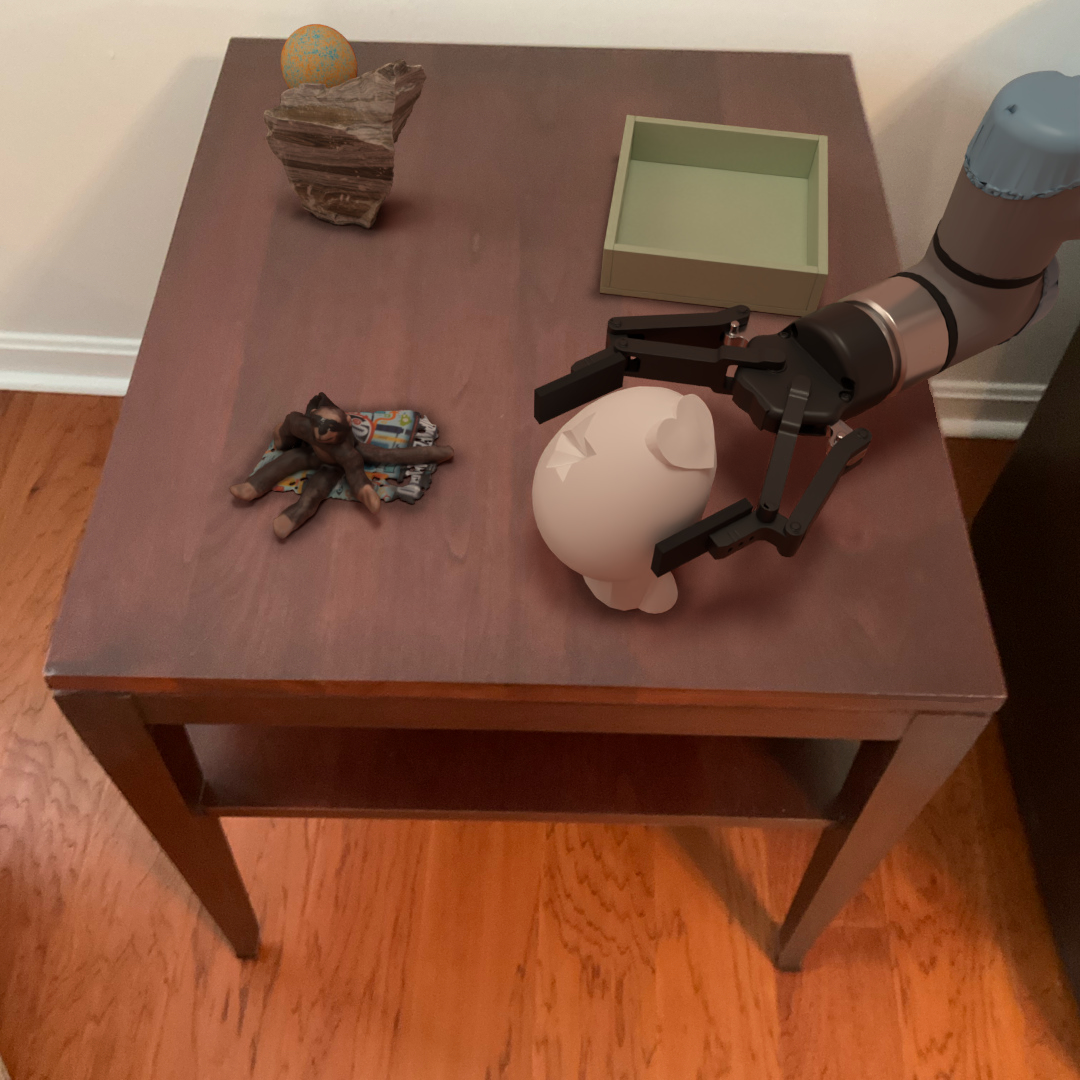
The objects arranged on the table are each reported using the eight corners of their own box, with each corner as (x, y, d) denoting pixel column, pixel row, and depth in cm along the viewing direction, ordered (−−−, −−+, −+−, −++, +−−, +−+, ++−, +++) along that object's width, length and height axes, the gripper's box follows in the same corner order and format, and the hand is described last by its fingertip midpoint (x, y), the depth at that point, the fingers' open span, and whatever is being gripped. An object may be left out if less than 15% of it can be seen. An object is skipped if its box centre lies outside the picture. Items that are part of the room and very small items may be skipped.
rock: (276, 214, 89) (237, 52, 77) (305, 174, 92) (272, 11, 80) (412, 247, 87) (394, 86, 75) (437, 204, 90) (424, 43, 78)
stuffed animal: (202, 459, 73) (305, 329, 71) (293, 488, 82) (387, 373, 79) (286, 570, 68) (400, 433, 66) (373, 588, 77) (476, 468, 74)
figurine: (529, 617, 68) (530, 483, 55) (532, 479, 74) (534, 331, 62) (697, 621, 68) (736, 488, 55) (687, 483, 74) (720, 335, 62)
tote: (815, 180, 93) (828, 135, 89) (814, 318, 83) (828, 274, 79) (622, 160, 94) (626, 114, 90) (599, 293, 85) (603, 248, 81)
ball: (355, 124, 96) (344, 54, 91) (281, 120, 97) (266, 50, 91) (367, 80, 100) (357, 10, 94) (296, 76, 101) (282, 6, 95)
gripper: (968, 515, 67) (704, 665, 60) (737, 282, 78) (494, 388, 72) (1015, 442, 60) (725, 602, 54) (755, 201, 72) (492, 310, 66)
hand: (593, 480), depth 63 cm, fingers open, 13 cm apart
